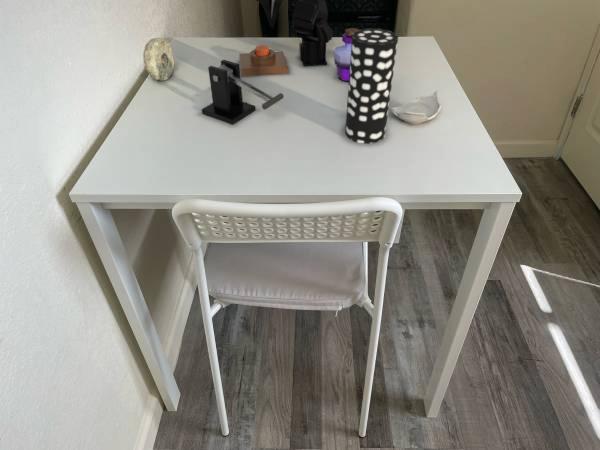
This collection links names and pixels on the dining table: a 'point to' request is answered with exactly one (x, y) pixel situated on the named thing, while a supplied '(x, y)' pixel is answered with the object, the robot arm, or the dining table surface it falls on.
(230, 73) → the lever
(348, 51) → the potion bottle
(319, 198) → the dining table surface
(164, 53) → the stone ring
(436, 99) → the pottery shard
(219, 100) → the bracket
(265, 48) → the button
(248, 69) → the control block
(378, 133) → the white-spotted black cylinder
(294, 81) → the dining table surface
